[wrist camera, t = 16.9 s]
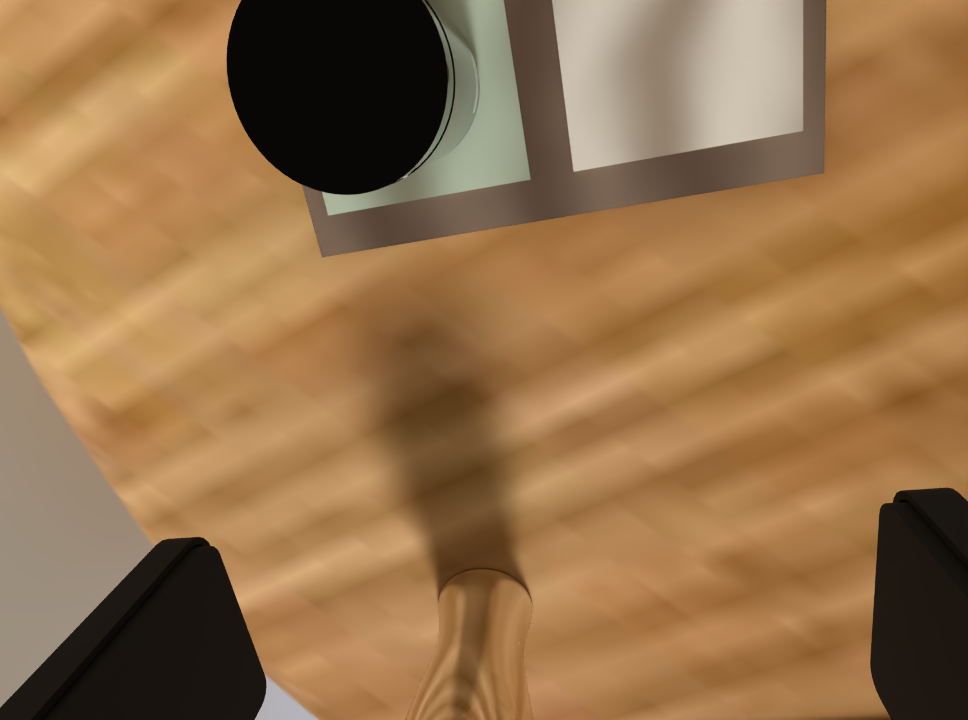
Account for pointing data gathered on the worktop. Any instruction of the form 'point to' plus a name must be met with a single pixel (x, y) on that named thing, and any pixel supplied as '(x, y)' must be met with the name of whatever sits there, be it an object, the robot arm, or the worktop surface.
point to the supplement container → (350, 88)
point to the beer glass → (478, 652)
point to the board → (606, 115)
